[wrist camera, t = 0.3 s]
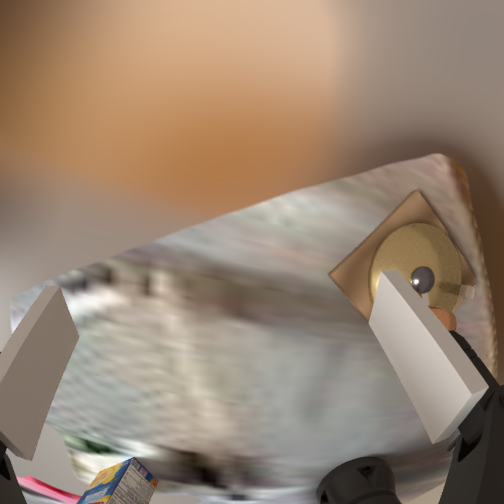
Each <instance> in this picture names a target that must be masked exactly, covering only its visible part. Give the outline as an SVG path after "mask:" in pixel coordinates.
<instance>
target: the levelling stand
mask: <svg viewBox="0 0 504 504" xmlns="http://www.w3.org/2000/svg"><path fill="white" fill-rule="evenodd" d="M413 223H424V224H429V225H432V226H434V227H436V228H438V229H440V230H441V231H442V232H443V233H445V235H446V236H447V237H448V238H449V239H450V240H451V242H452V243H453V245H454V247H455V249H456V251H457V253H458V256H459V260H460V265H461V274H462V275H461V288H460V292H459V296H458V299H457V302H456V304H455V306H454V308H453V310H452V313H453V312H454V311H455V310H456V308H457V307H458V306H459V305H460V303H461V302H462V301H463V300H464V298H467V299H473V297H474V292H475V287H474V285H475V284H476V282H477V280H476V278H475V276H474V274H473V273H472V271H471V269H470V267H469V266H468V264H467V262H466V261H465V259H464V257H463V256H462V254H461V252H460V251H459V249H458V248H457V246H456V244H455V243H454V241H453V240H452V238H451V237H450V235H449V234H448V232H447V231H446V229H445V228H444V226H443V225H442V223H441V222H440V220H439V219H438V217H437V216H436V215H435V213H434V212H433V210H432V209H431V208H430V206H429V205H428V203H427V202H426V201H425V199H424V198H423V197H422V195H421V194H420V193H419V191H418V190H415V191H412V192H411V193H410V194H409V195H408V196H407V197H406V198H405V199H404V200H403V201H402V202H401V203H400V204H399V205H398V206H397V207H396V208H395V209H394V211H393V212H392V213H391V214H390V215H389V216H388V217H387V218H386V219H385V220H384V221H383V222H382V223H381V224H380V225H379V226H378V227H377V228H376V229H375V230H374V231H373V232H372V233H371V234H370V235H369V236H368V237H366V238H365V239H364V240H363V241H362V242H361V243H360V244H359V245H358V246H357V247H356V248H355V249H354V250H353V251H352V252H351V253H350V254H349V255H348V256H347V257H346V258H345V259H344V260H343V261H341V262H340V263H339V264H338V265H337V266H336V267H335V268H334V269H333V270H332V271H331V272H330V273H329V274H328V275H329V277H330V278H331V279H332V280H333V281H334V283H335V284H336V285H337V286H338V287H339V289H340V290H341V291H342V292H343V293H344V295H345V296H346V297H347V298H348V299H349V301H350V302H351V303H352V304H353V306H354V307H355V308H356V309H357V310H358V312H359V313H360V314H361V315H362V317H363V318H364V319H365V320H366V322H367V323H368V324H369V319H370V316H371V312H372V308H373V306H372V303H371V300H370V296H369V290H368V274H369V267H370V263H371V260H372V257H373V255H374V253H375V251H376V249H377V247H378V246H379V244H380V243H381V241H382V240H383V239H384V238H385V237H386V236H387V235H388V234H389V233H390V232H392V231H393V230H395V229H397V228H399V227H401V226H404V225H408V224H413Z"/></svg>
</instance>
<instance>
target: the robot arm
mask: <svg viewBox="0 0 504 504" xmlns="http://www.w3.org/2000/svg"><path fill="white" fill-rule="evenodd" d="M369 325H370V327H371V329H372V330H373V332H374V334H375V336H376V337H377V339H378V341H379V343H380V344H381V346H382V348H383V350H384V352H385V353H386V355H387V357H388V359H389V361H390V362H391V364H392V366H393V368H394V370H395V372H396V373H397V375H398V377H399V379H400V381H401V383H402V385H403V387H404V388H405V390H406V392H407V394H408V396H409V398H410V400H411V402H412V404H413V406H414V408H415V410H416V412H417V414H418V416H419V418H420V420H421V422H422V424H423V426H424V428H425V430H426V432H427V434H428V436H429V438H430V440H431V442H432V444H435V443H437V442H440V441H442V440H444V439H447V438H449V437H450V436H451V435H452V434H453V433H454V432H455V430H456V429H457V428H458V429H459V431H460V433H461V434H460V435H459V436H458V437H457V438H456V439H455V440H454V442H453V443H452V444H451V445H450V446H449V448H448V450H447V451H450V450H451V449H452V448H453V447H454V446H455V445H456V447H455V450H454V455H453V459H452V462H451V466H450V470H449V473H448V476H447V480H446V483H445V486H444V489H443V492H442V495H441V498H440V501H439V504H504V385H502V386H500V385H499V384H498V383H497V381H496V380H495V378H494V377H493V376H492V374H491V373H490V371H489V370H488V369H487V367H486V366H485V365H484V363H483V362H482V361H481V359H480V358H479V357H477V354H476V353H475V351H474V350H473V349H471V346H470V345H469V344H468V342H467V341H466V340H465V338H464V337H462V336H461V335H459V334H458V333H457V332H455V331H454V330H451V331H448V330H447V329H446V328H445V326H444V325H443V324H442V323H441V321H440V320H439V319H438V318H437V316H436V315H435V314H434V313H433V311H432V310H431V309H430V308H429V307H428V305H427V304H426V303H425V302H424V301H423V299H422V298H421V297H420V296H419V295H418V293H417V292H416V291H415V290H414V289H413V288H412V286H411V285H410V284H409V283H408V282H407V281H406V280H405V278H404V277H403V276H402V275H401V274H400V273H399V272H398V270H387V271H381V275H380V279H379V283H378V288H377V292H376V296H375V300H374V304H373V308H372V312H371V316H370V319H369ZM78 339H79V334H78V332H77V330H76V327H75V325H74V322H73V320H72V317H71V315H70V312H69V310H68V307H67V304H66V302H65V299H64V296H63V293H62V291H61V288H60V286H46V287H45V288H44V290H43V291H42V292H41V294H40V295H39V296H38V298H37V299H36V301H35V302H34V303H33V305H32V306H31V308H30V309H29V310H28V312H27V313H26V315H25V316H24V318H23V319H22V321H21V322H20V324H19V325H18V327H17V328H16V330H15V331H14V333H13V334H12V336H11V337H10V339H9V340H8V342H7V344H6V345H5V347H4V349H3V350H2V352H0V504H27V503H26V500H25V498H24V496H23V493H22V491H21V488H20V486H19V483H18V481H17V478H16V475H15V473H14V470H13V467H12V464H11V461H10V459H9V457H8V455H7V454H6V453H5V452H6V449H7V448H8V449H9V450H10V451H12V453H14V454H15V455H16V456H18V457H21V458H24V459H27V460H30V461H32V459H33V456H34V453H35V449H36V446H37V443H38V440H39V437H40V434H41V431H42V428H43V425H44V422H45V419H46V417H47V414H48V411H49V408H50V406H51V403H52V400H53V398H54V395H55V393H56V390H57V388H58V385H59V383H60V380H61V378H62V375H63V373H64V371H65V368H66V366H67V364H68V361H69V359H70V357H71V355H72V352H73V350H74V348H75V346H76V343H77V341H78ZM317 498H318V501H319V504H402V503H401V502H400V500H399V499H398V497H397V496H396V493H395V482H394V474H393V472H392V470H391V468H390V467H389V465H388V464H387V463H386V462H385V461H383V460H381V459H378V458H371V457H369V458H360V459H356V460H352V461H349V462H347V463H345V464H342V465H341V466H339V467H337V468H335V469H334V470H333V471H331V472H330V473H329V474H328V475H327V476H326V477H325V478H324V479H323V480H322V481H321V483H320V485H319V487H318V490H317Z"/></svg>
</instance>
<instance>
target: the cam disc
mask: <svg viewBox="0 0 504 504" xmlns="http://www.w3.org/2000/svg"><path fill="white" fill-rule="evenodd" d="M387 270H398V272H399V273H400V274H401V275H402V276H403V277H404V278H405V280H406V281H407V282H408V283H409V284H410V285H411V286H412V288H413V289H414V290H415V291H416V292H417V293H418V295H419V296H420V297H421V298H422V299H423V301H424V302H425V303H426V304H427V305H428V307H429V308H430V309H431V310H432V311H433V313H434V314H435V315H436V316H437V318H438V319H439V320H440V321H441V323H442V324H443V325H444V326H445V328H446V329H447V330H448V331H451V330H454V331H455V330H456V318H455V316H454V314H453V313H452V310H453V308H454V306H455V304H456V302H457V299H458V296H459V292H460V288H461V275H462V274H461V265H460V260H459V256H458V253H457V251H456V249H455V247H454V245H453V243H452V242H451V240H450V239H449V238H448V237H447V236H446V235H445V233H443V232H442V231H441V230H440V229H438V228H436V227H434V226H432V225H429V224H424V223H413V224H408V225H404V226H401V227H399V228H397V229H395V230H393V231H392V232H390V233H389V234H388V235H387V236H386V237H385V238H384V239H383V240H382V241H381V243H380V244H379V246H378V247H377V249H376V251H375V253H374V255H373V257H372V260H371V263H370V267H369V274H368V290H369V296H370V300H371V303H372V306H373V304H374V300H375V296H376V292H377V288H378V283H379V279H380V275H381V271H387Z"/></svg>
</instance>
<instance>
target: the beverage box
mask: <svg viewBox="0 0 504 504" xmlns="http://www.w3.org/2000/svg"><path fill="white" fill-rule="evenodd" d="M157 483H158V480H157V479H156V478H155V477H153V476H152V475H151V474H150V473H149V472H148V471H147V470H146V469H145V468H144V467H143V466H142V465H141V464H140V463H139V462H138V461H137V460H136V459H135V458H134V457H133V458H131V459H128V460H126V461H124V462H121V463H119V464H117V465H114V466H112V467H110V468H107V469H105V470H102V471H100V472H99V473H98V475H97V476H96V478H95V479H94V480H93V482H92V483H91V485H90V486H89V487H88V489H87V490H86V492H85V493H84V494H83V496H82V497H81V498H80V500H79V501H78V502H77V504H149V502H150V499H151V497H152V494H153V492H154V490H155V487H156V485H157Z"/></svg>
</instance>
